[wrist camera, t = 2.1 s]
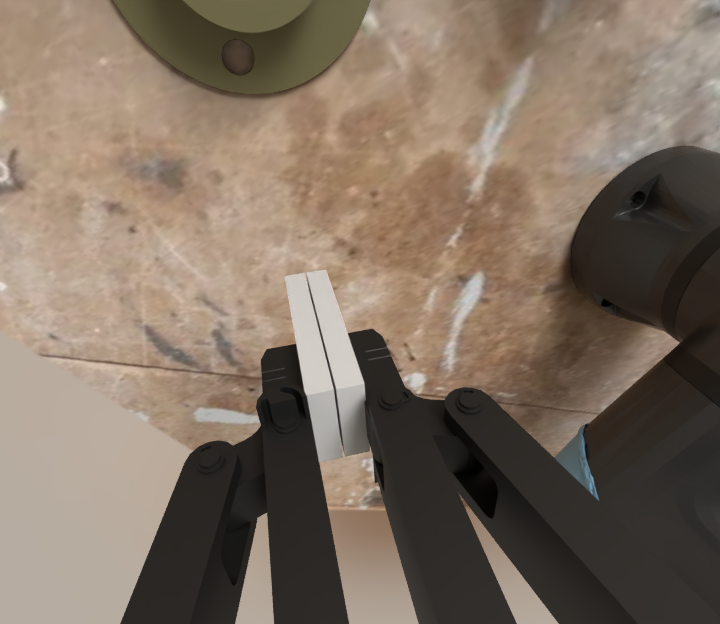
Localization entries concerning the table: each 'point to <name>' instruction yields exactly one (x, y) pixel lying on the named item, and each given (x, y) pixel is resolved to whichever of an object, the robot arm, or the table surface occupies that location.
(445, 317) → the table surface
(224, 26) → the flange
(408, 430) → the robot arm
